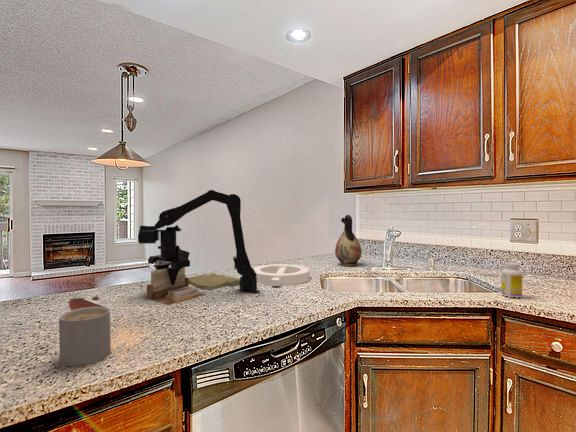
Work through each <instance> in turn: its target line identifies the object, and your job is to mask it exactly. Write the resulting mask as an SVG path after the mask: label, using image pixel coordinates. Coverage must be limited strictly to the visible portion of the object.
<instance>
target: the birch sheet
mask: <svg viewBox="0 0 576 432" xmlns="http://www.w3.org/2000/svg"><path fill="white" fill-rule="evenodd" d="M185 277H186V267H184V268H181V269H180V270H179V272H178V275H177V278H176V281H175V284H174V285H171V282H170V279H169V275H168V272H167V268H165V269H160V270H156V269H153V270H150V285H153V299H154V292H156V291H160V290H164V289H168V288H173V287H177V286H181V285H185Z"/></svg>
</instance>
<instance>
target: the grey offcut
mask: <svg viewBox="0 0 576 432" xmlns="http://www.w3.org/2000/svg"><path fill="white" fill-rule="evenodd" d="M196 292H198V288H197V287H195V286H190V285H189V286H187V287H183V288H179V289H175V290H171V291H168V295H169V296H173V297H181V296H185V295H189V294H192V293H196Z"/></svg>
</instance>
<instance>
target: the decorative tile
mask: <svg viewBox="0 0 576 432" xmlns="http://www.w3.org/2000/svg"><path fill="white" fill-rule="evenodd" d="M188 278H189V285H190V286H191V287H194V288H197V289H202V290H207V291H214V290H216V289H217V290H218V289H222V288H225V287H231V288H234V286H235V287H239V286H240V278H237V277H233V276H229V275H224V274H217V273H215V272H213V273H209V274H207V273H206V274H200V275H195V276H190V277H188Z"/></svg>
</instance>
